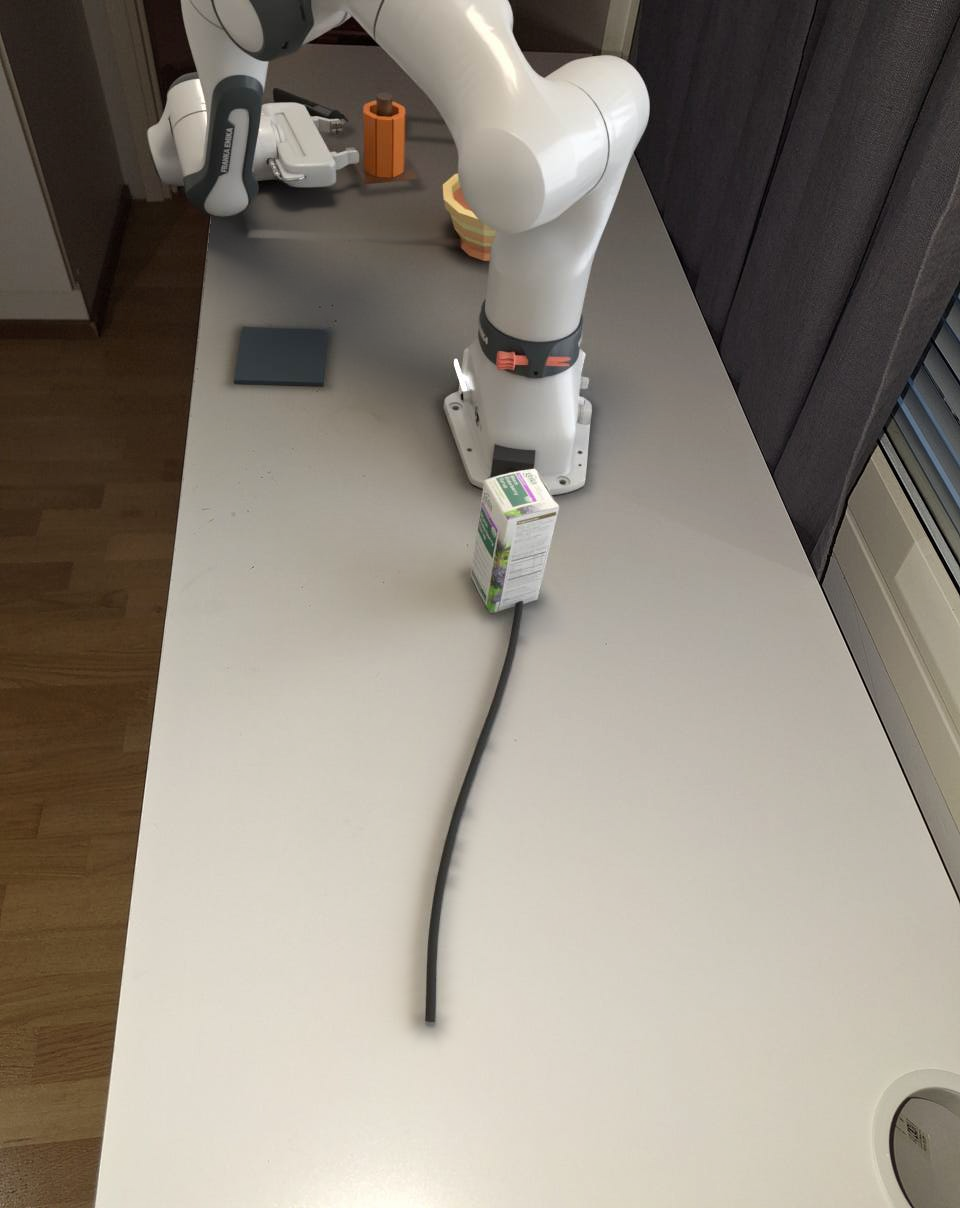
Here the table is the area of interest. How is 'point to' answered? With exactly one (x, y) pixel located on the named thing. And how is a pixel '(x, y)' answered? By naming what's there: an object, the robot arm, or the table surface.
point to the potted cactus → (467, 222)
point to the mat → (281, 356)
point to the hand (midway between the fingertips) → (349, 140)
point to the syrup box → (513, 538)
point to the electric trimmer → (308, 105)
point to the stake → (386, 110)
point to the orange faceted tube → (384, 141)
